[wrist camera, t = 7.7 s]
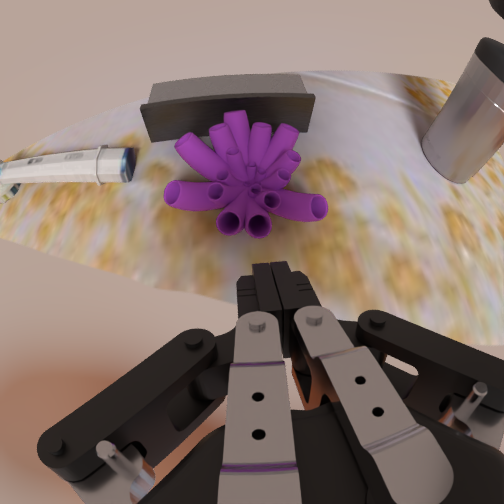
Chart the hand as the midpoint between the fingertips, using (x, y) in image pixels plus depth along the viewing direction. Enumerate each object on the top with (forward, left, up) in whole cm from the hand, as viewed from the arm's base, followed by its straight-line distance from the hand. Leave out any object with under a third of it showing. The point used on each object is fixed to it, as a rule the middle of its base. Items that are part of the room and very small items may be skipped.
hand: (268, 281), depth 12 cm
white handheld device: (+25, -18, -13) cm, 33 cm away
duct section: (+1, -25, -12) cm, 28 cm away
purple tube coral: (0, -13, -13) cm, 18 cm away
